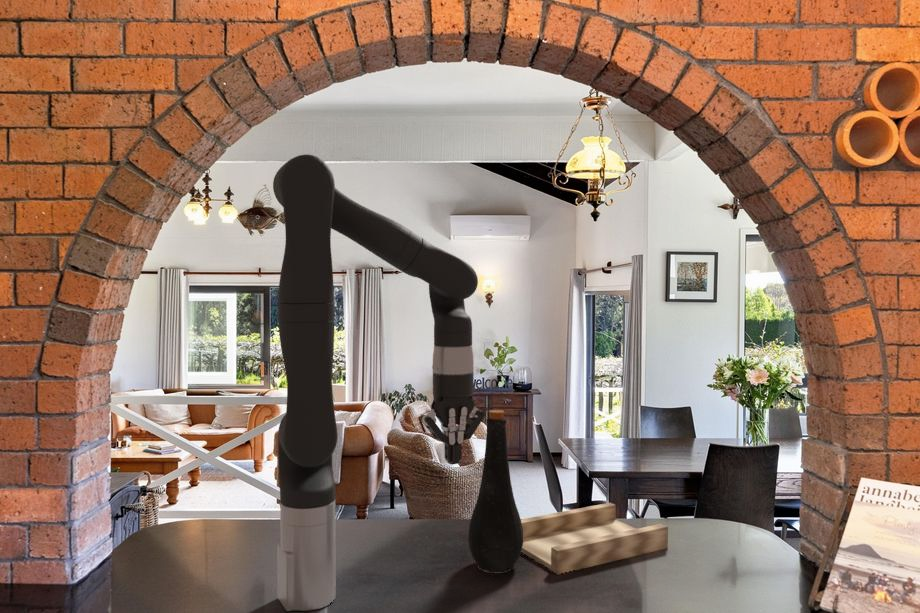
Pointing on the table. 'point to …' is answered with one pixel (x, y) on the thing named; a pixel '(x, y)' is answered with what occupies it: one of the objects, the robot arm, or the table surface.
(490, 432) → the bottle
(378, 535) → the table surface
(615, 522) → the trough
